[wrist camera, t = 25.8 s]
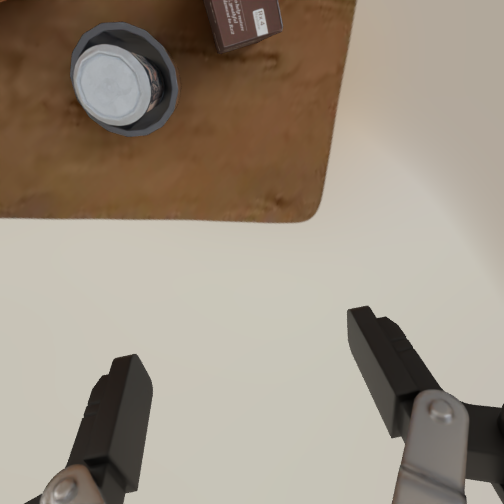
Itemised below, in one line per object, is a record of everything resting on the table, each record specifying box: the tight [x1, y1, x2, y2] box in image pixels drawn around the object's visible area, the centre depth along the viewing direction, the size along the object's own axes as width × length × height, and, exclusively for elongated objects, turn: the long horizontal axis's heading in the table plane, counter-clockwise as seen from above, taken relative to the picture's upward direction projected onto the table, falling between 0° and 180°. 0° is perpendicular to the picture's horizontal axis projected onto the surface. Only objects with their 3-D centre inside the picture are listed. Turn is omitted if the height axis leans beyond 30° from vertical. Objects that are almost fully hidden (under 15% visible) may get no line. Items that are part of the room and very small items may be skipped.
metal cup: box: [70, 22, 181, 137], centre depth 29 cm, size 8×8×6 cm
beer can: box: [73, 44, 164, 126], centre depth 26 cm, size 5×5×12 cm
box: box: [203, 0, 283, 54], centre depth 25 cm, size 6×4×12 cm
